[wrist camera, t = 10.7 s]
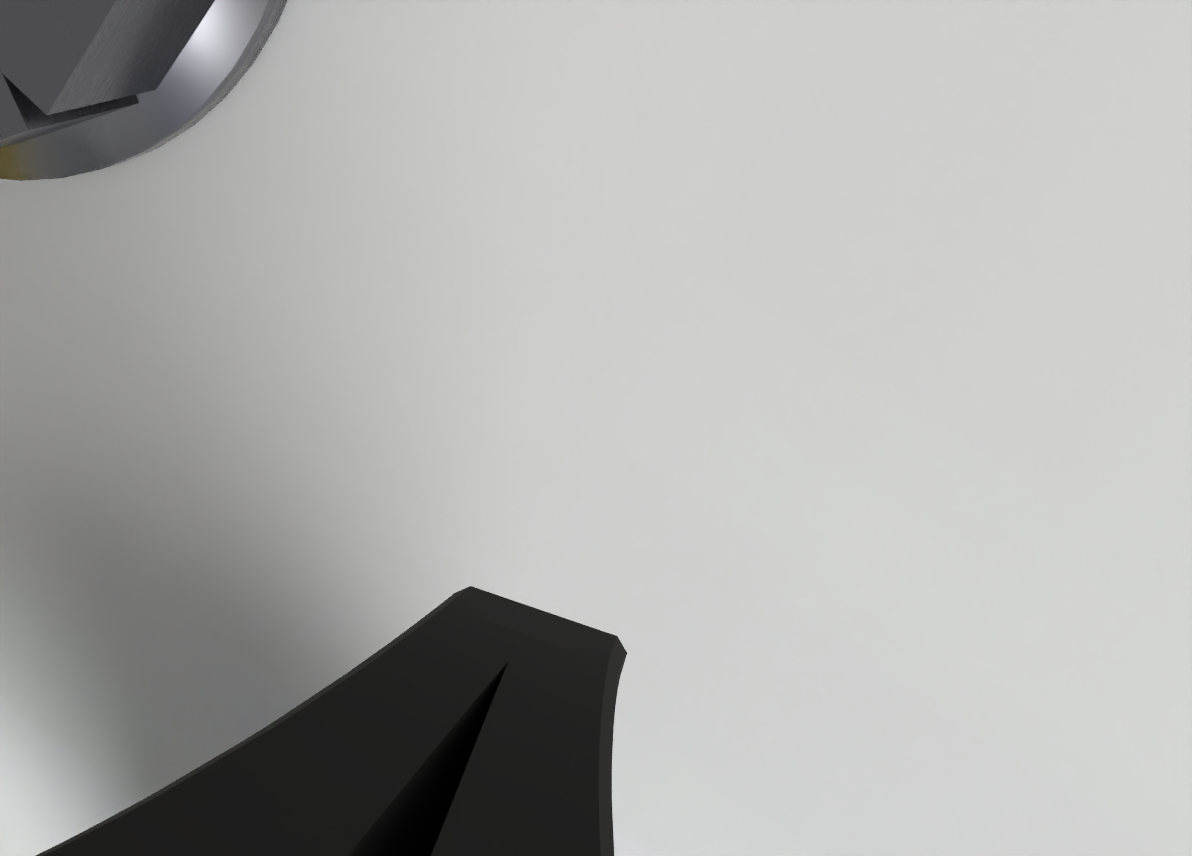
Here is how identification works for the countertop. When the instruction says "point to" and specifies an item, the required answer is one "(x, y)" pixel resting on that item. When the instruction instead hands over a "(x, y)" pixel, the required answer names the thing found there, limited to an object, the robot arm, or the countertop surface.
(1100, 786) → the countertop surface
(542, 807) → the robot arm
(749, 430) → the countertop surface
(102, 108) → the toothed ring bowl
